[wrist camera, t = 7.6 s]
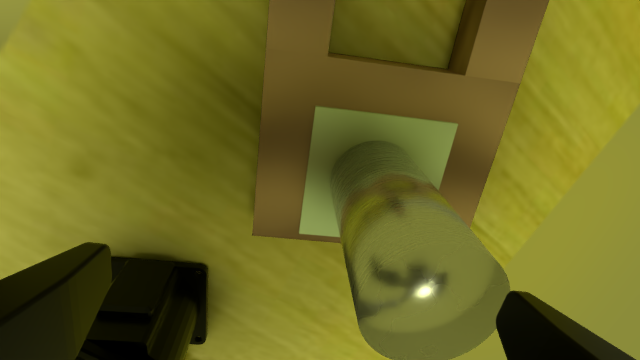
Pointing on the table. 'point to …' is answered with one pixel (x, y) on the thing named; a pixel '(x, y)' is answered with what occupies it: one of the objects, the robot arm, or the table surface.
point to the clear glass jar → (411, 259)
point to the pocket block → (382, 110)
